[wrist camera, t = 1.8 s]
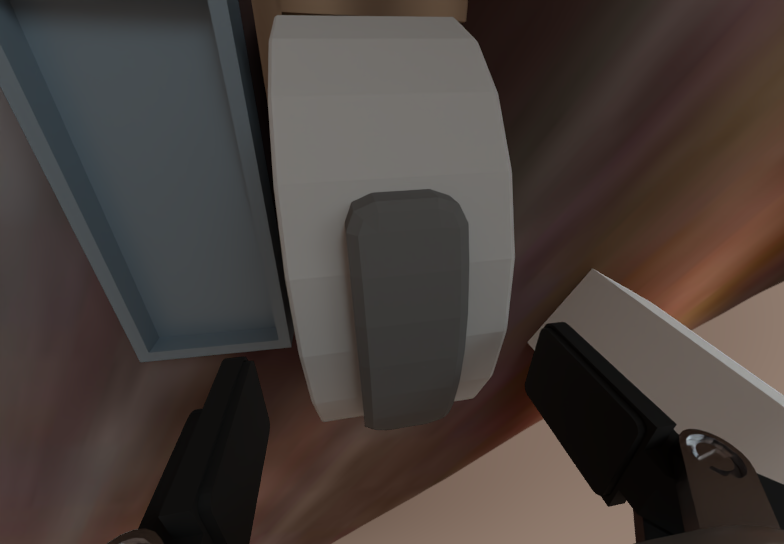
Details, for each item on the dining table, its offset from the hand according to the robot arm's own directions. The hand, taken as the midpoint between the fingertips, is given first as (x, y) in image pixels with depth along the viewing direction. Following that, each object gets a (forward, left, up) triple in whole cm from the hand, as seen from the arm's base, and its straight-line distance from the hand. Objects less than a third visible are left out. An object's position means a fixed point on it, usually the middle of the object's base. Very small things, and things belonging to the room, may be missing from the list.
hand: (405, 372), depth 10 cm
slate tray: (+14, 0, -20) cm, 24 cm away
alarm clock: (0, 0, -20) cm, 20 cm away
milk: (-28, +17, -20) cm, 38 cm away
